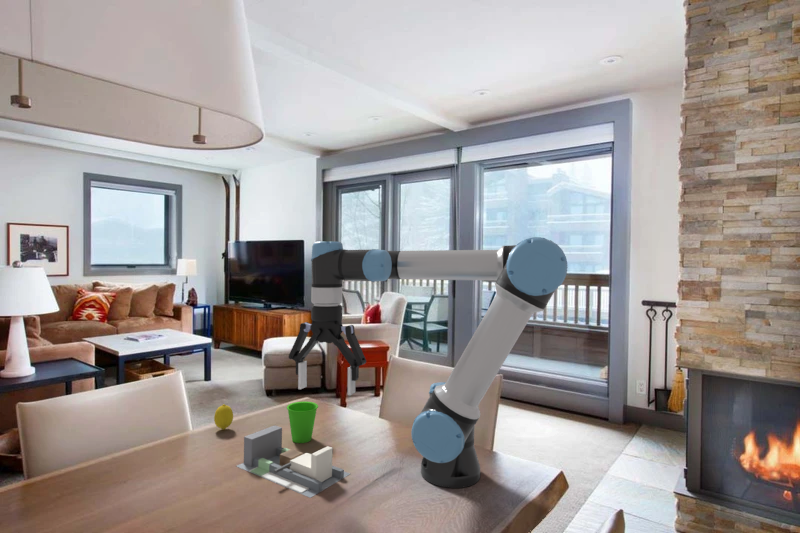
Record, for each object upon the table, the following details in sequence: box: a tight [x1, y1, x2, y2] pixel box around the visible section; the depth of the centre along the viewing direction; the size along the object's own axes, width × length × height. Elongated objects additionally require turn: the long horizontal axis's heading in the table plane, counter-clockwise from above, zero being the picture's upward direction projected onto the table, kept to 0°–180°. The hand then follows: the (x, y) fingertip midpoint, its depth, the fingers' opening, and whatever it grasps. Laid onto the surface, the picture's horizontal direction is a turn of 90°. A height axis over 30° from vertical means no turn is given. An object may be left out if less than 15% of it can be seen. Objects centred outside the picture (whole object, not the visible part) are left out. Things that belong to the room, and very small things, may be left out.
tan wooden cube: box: [280, 448, 304, 469], centre depth 114 cm, size 4×4×4 cm
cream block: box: [274, 445, 334, 482], centre depth 108 cm, size 9×11×7 cm
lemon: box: [213, 403, 234, 431], centre depth 142 cm, size 6×6×8 cm
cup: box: [286, 401, 319, 444], centre depth 133 cm, size 9×9×11 cm
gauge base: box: [235, 425, 351, 499], centre depth 114 cm, size 26×14×8 cm, turn 57°
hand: (326, 390), depth 112 cm, fingers open, 13 cm apart
